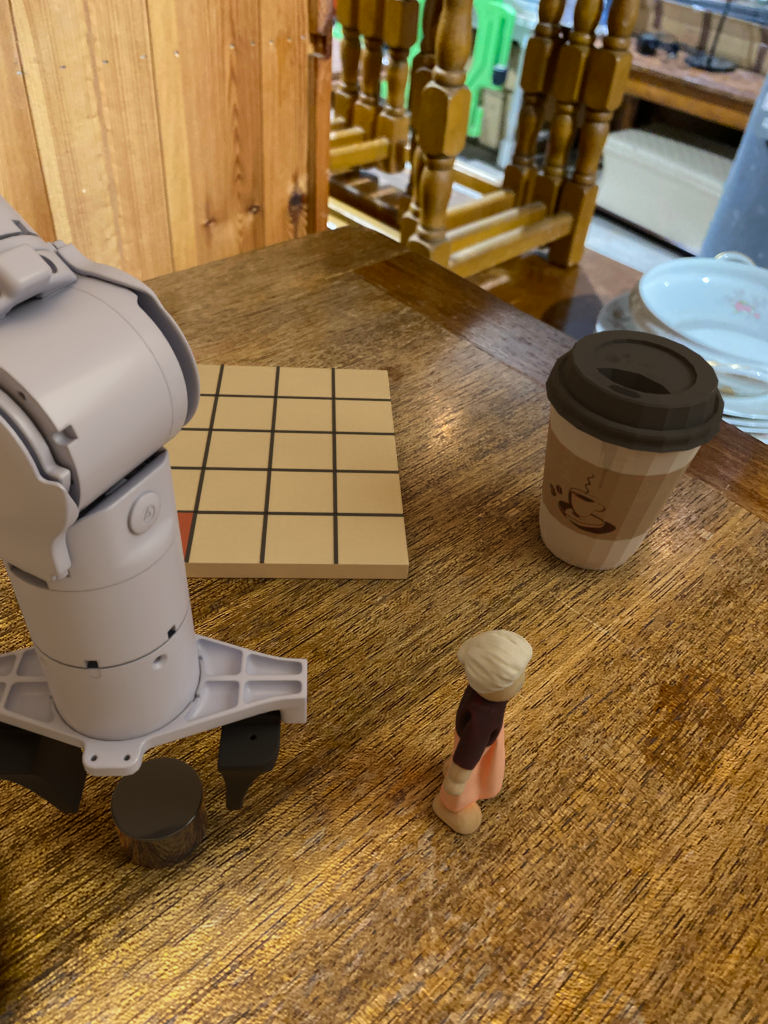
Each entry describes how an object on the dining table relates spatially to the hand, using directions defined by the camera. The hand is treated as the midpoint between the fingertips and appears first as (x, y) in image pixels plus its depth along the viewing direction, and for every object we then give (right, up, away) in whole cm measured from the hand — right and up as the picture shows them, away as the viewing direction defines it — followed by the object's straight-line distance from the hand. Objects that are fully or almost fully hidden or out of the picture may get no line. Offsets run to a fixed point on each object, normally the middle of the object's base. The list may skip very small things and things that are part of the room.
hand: (156, 792), depth 38 cm
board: (+2, +17, +25) cm, 30 cm away
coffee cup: (+26, +12, +21) cm, 36 cm away
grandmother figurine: (+16, -2, +5) cm, 16 cm away
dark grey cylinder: (0, -3, +2) cm, 4 cm away
